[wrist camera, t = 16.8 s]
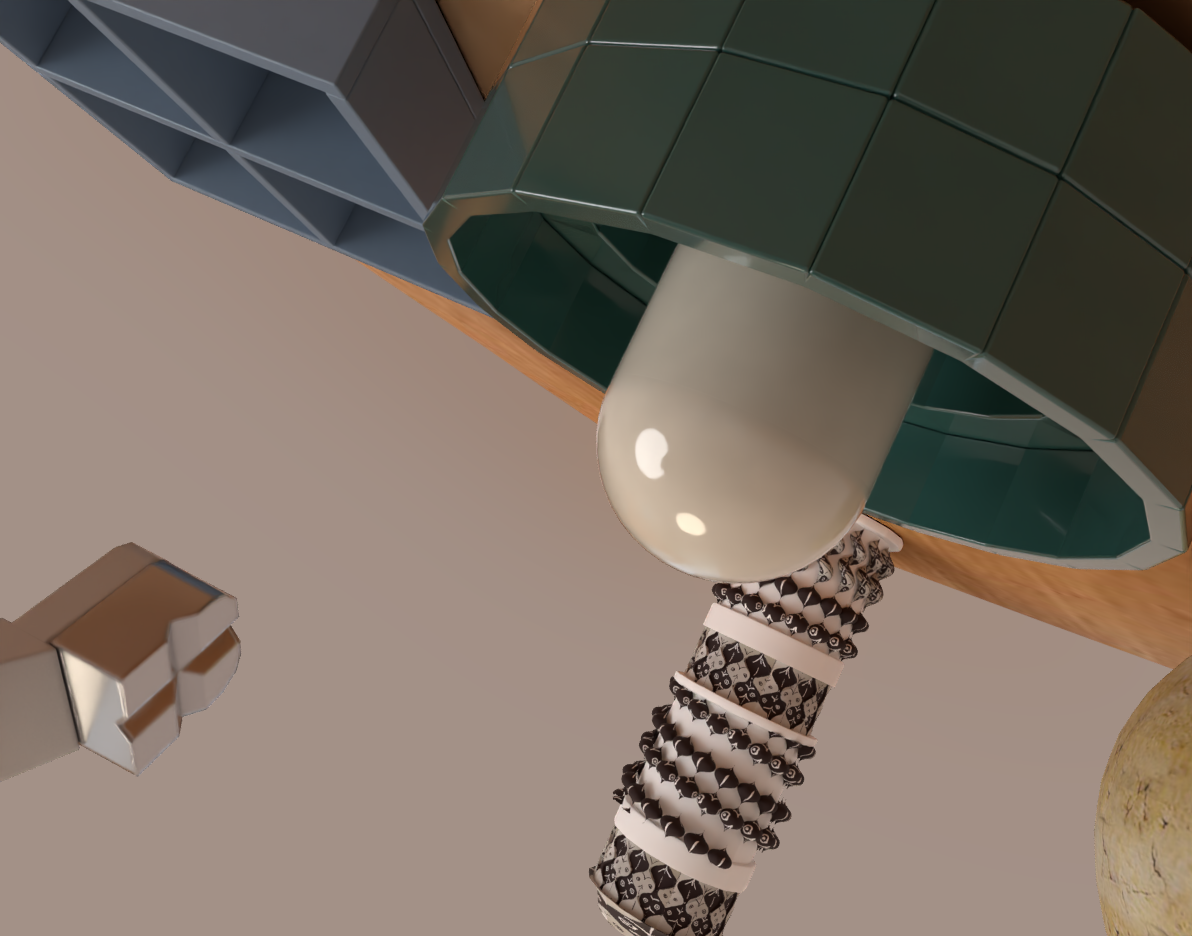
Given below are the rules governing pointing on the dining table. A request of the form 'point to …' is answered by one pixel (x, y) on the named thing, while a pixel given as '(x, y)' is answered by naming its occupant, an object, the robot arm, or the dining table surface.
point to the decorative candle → (734, 740)
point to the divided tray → (276, 108)
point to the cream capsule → (749, 420)
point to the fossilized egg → (1149, 816)
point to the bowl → (878, 228)
